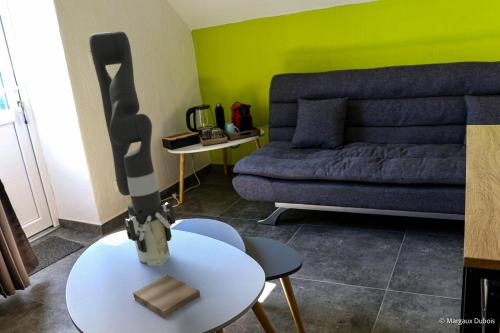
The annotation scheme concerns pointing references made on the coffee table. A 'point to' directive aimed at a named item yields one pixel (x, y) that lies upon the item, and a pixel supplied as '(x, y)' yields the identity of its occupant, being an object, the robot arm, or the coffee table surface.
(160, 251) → the skincare box
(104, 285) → the coffee table surface
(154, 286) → the walnut board
